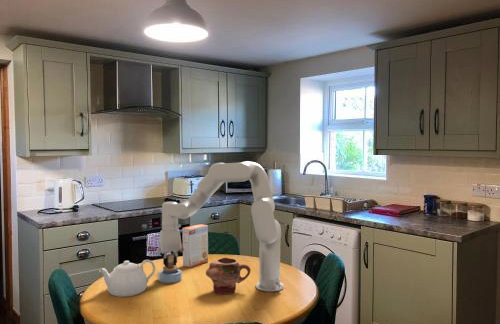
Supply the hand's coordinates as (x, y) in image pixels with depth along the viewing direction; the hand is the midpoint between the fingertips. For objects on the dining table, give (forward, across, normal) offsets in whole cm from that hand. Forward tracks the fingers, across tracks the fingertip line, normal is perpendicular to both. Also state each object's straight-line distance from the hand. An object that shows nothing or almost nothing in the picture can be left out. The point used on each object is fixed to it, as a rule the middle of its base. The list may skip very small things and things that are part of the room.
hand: (170, 265), depth 204 cm
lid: (+2, 0, 0) cm, 2 cm away
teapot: (+8, +21, +6) cm, 23 cm away
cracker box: (+8, -20, -20) cm, 29 cm away
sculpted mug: (+7, -19, +26) cm, 33 cm away
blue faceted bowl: (+7, 0, 0) cm, 7 cm away
